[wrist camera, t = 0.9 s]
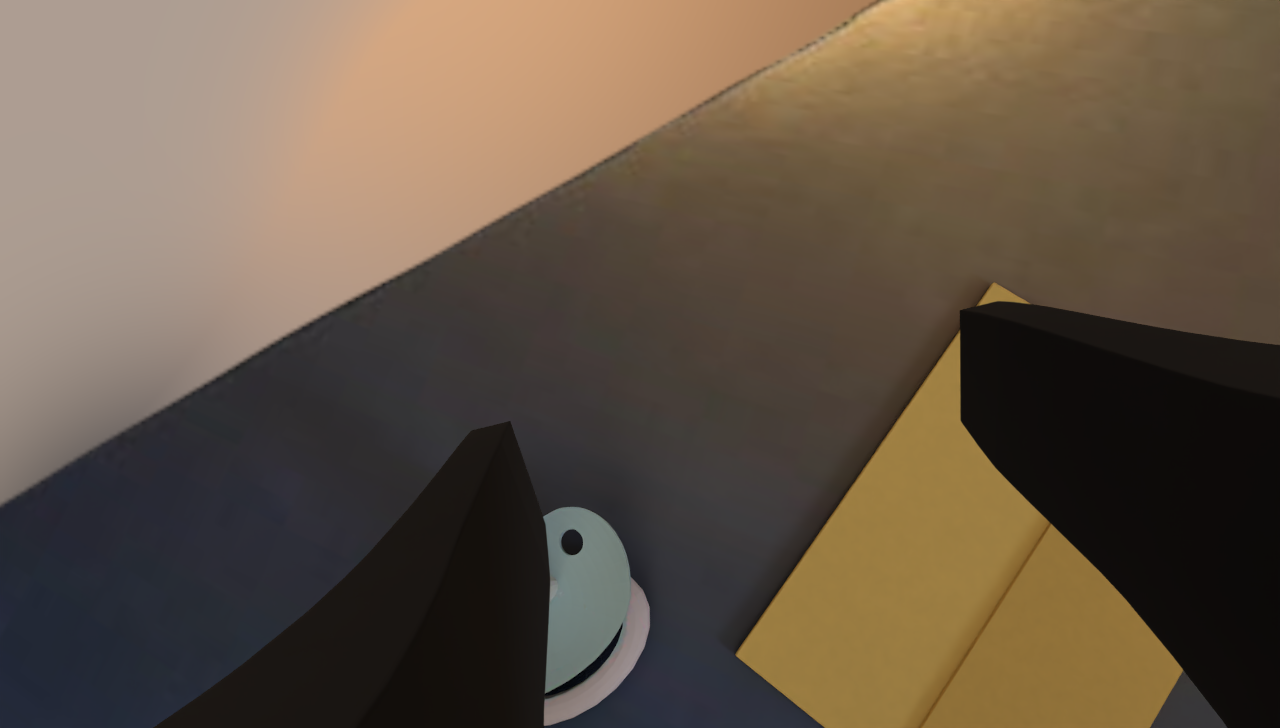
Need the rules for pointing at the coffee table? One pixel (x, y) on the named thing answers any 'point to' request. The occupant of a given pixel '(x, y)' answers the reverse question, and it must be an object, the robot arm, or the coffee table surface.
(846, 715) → the envelope
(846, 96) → the coffee table surface
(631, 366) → the coffee table surface
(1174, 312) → the coffee table surface
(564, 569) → the pacifier
